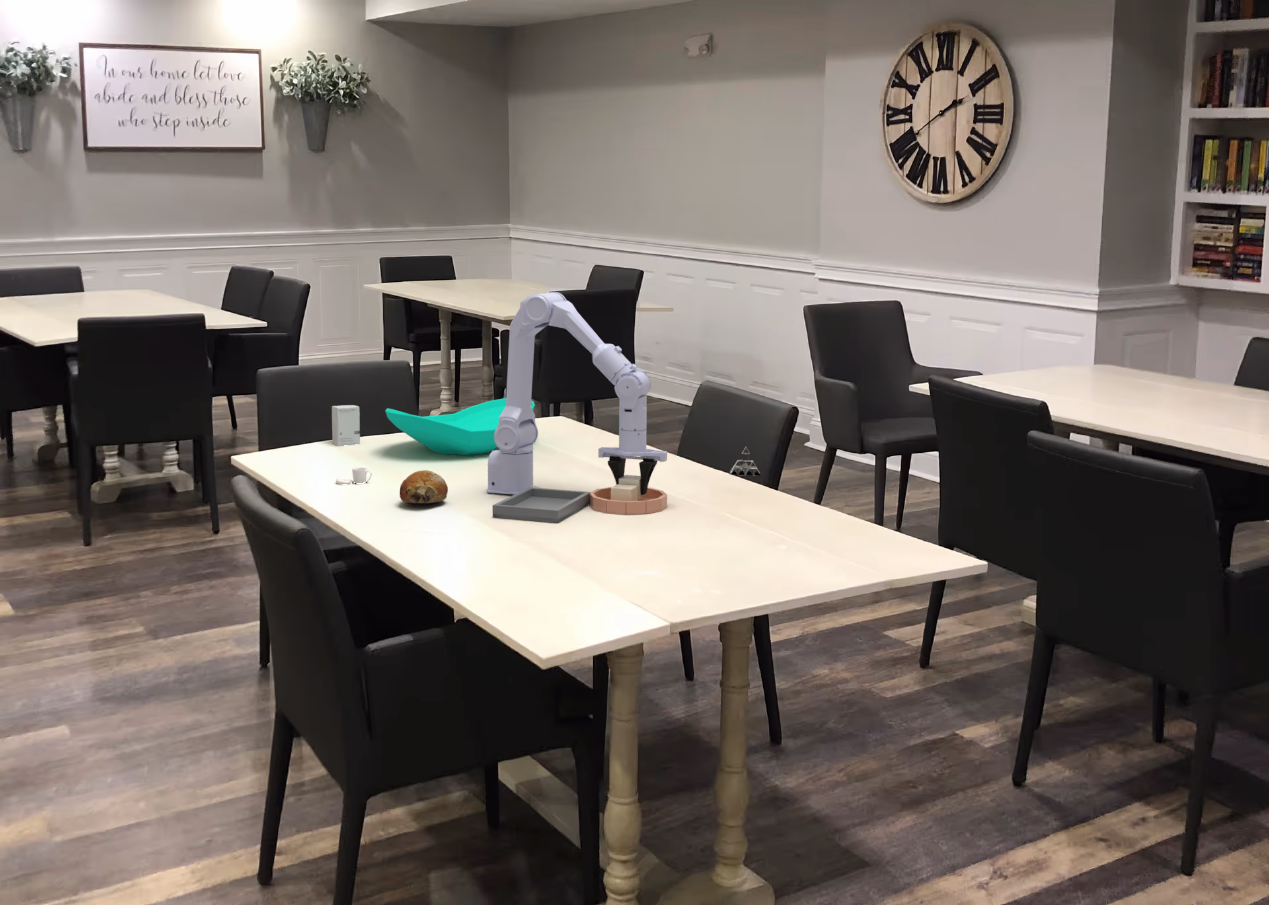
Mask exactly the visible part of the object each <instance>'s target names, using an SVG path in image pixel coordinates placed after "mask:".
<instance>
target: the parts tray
mask: <svg viewBox="0 0 1269 905" xmlns="http://www.w3.org/2000/svg"><path fill="white" fill-rule="evenodd" d="M591 492H592V491H582V490H581V491H580V490H571V489H570V490H569V489H557V488H547V487H546V488H543V487H540V488H533V487H529V488H527V489H525V490H523V491H521V492H519V493H517V494H515V495H514V494H512V495H511V496H508V497H507V498H504V499H502V500H500V501H499V502H497V503H494V504H493V505H492V518H496V519H504V520H505V519H506V520H507V519H508V520H518V521H519V520H520V521H530V522H543V523H551V524H552V523H554V524H559V523H561V522H563V521H564V520H565V519H568V518H570V517H571V516H573V515H574V514H576V513H578V512H579V511H582V510H583V509H586V508H587V507H588V506H590V493H591Z"/></svg>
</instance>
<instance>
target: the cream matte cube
mask: <svg viewBox="0 0 1269 905" xmlns="http://www.w3.org/2000/svg"><path fill="white" fill-rule="evenodd" d="M611 487H612V488H611V500H617V501H638V486H637V485H623V484H617V485H616V484H615V485H614V486H611Z"/></svg>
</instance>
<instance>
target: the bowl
mask: <svg viewBox="0 0 1269 905" xmlns="http://www.w3.org/2000/svg"><path fill="white" fill-rule="evenodd" d="M612 487H613V486H608V487H603V488H596V489H595V490H593V491H590V492H591V493H590V505H589V506H590V507H591V509H592V510H593V511H598V512H600V513H601V512H602V513H604V514H615V515H629V516H630V515H647V514H652V513H657V512H658V513H659V512H661V511H663V510H665V509H666V508H667V507H668V494H667V493H666V492H665V491H664V490H661V489H657V488H653V487H649V486H648V488H647V493H646V494H645V495H644V496H643V497H641V498H640V499H638V501H617V500H611V488H612Z"/></svg>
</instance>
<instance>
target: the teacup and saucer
mask: <svg viewBox="0 0 1269 905" xmlns="http://www.w3.org/2000/svg"><path fill="white" fill-rule="evenodd" d="M351 471H352V479H350V478H346V477H338V478H336V479H335V483H336V484H337V485H339V484H348V485H351V484H350V483H351V482H353V483H354V482H355V483H363V482H367V483H368V482H370V480H371V477H372V476H373V475H372V474H373V473H372V472H371V470H367V468H366V467H353V468H352V469H351ZM368 472H369V473H370V476H369V478H368V480H367V473H368Z"/></svg>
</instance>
